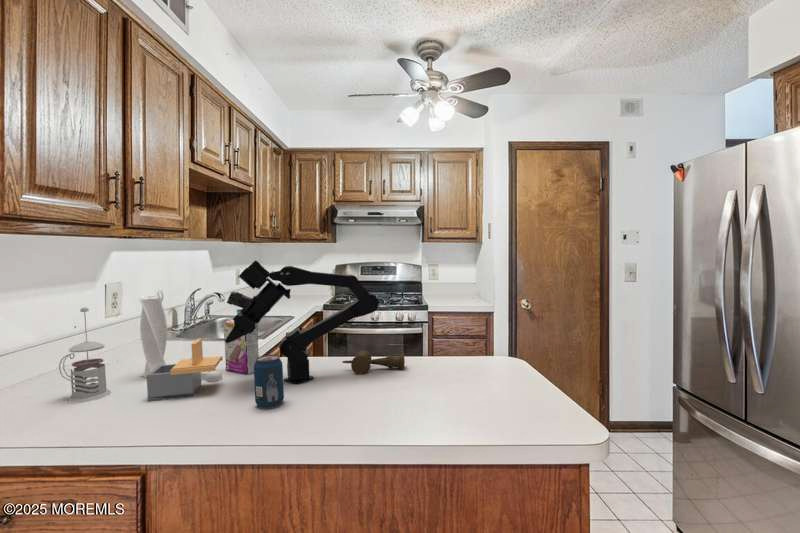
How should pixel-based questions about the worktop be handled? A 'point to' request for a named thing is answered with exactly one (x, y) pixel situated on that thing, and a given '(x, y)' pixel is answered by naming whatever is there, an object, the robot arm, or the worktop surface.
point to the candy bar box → (240, 351)
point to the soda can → (268, 381)
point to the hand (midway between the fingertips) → (227, 340)
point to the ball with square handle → (212, 375)
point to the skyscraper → (153, 331)
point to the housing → (171, 383)
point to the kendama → (374, 362)
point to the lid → (196, 361)
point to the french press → (87, 372)
